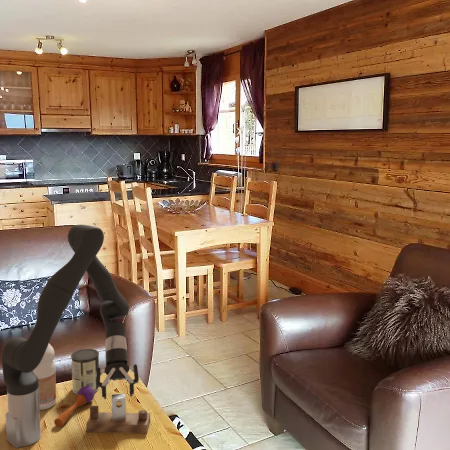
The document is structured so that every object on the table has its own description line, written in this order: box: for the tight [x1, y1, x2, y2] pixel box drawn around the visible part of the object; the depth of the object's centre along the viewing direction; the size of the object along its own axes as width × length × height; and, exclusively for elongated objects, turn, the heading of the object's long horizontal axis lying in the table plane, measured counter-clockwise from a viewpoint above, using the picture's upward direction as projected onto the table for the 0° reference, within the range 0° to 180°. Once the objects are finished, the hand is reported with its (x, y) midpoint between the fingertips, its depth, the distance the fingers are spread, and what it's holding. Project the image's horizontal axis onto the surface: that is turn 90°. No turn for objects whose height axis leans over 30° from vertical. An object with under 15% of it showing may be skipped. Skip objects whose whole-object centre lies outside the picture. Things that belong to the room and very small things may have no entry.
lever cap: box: [111, 393, 127, 422], centre depth 165 cm, size 4×3×8 cm
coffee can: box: [70, 348, 101, 395], centre depth 190 cm, size 10×10×14 cm
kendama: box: [53, 386, 95, 428], centre depth 175 cm, size 6×6×20 cm
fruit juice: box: [33, 343, 57, 411], centre depth 177 cm, size 9×9×28 cm
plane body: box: [85, 405, 151, 434], centre depth 166 cm, size 20×7×7 cm, turn 91°
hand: (118, 397), depth 167 cm, fingers open, 8 cm apart
